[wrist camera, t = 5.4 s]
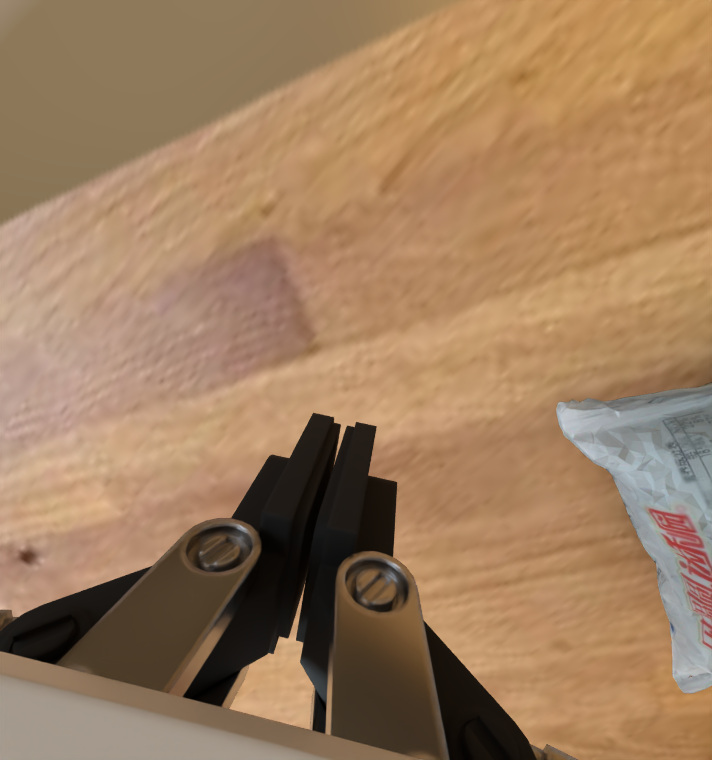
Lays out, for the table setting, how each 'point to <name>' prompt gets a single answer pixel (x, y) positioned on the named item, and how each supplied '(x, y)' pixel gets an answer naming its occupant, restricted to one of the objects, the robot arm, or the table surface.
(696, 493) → the packaged food
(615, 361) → the table surface
